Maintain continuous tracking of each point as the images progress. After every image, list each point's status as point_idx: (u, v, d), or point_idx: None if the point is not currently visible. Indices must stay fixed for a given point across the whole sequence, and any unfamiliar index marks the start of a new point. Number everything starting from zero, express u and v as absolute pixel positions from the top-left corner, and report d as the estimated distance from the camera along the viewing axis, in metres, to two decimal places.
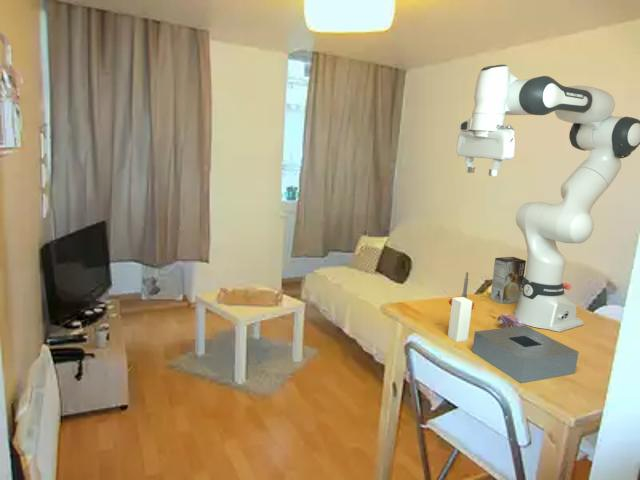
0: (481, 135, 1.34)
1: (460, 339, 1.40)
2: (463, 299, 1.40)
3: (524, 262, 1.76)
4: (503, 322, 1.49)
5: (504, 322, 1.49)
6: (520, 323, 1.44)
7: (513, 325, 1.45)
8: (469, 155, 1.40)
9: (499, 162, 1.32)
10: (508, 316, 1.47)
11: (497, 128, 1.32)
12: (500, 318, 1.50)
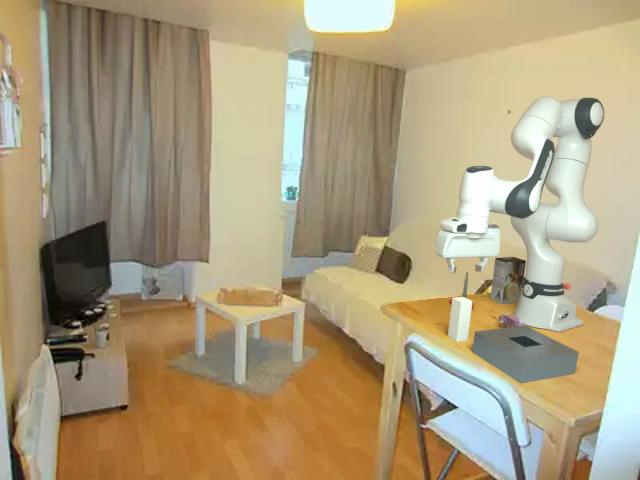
0: (481, 236, 1.34)
1: (460, 339, 1.40)
2: (463, 299, 1.40)
3: (524, 262, 1.76)
4: (504, 322, 1.49)
5: (505, 322, 1.49)
6: (521, 323, 1.44)
7: (514, 325, 1.45)
8: (460, 256, 1.34)
9: None
10: (509, 316, 1.47)
11: None
12: (501, 318, 1.50)
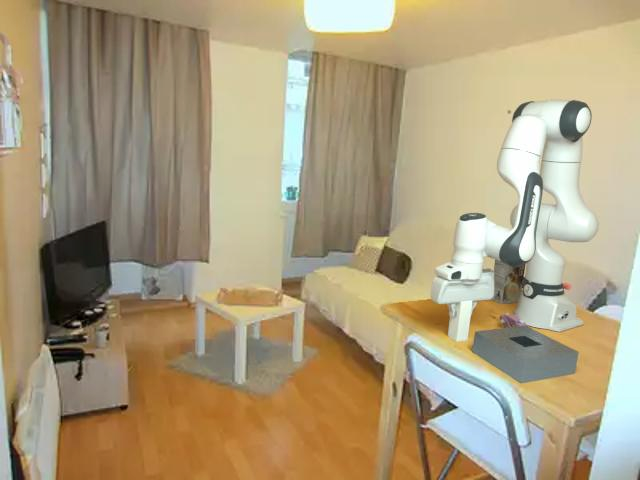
0: (475, 282, 1.36)
1: (460, 339, 1.40)
2: None
3: None
4: (505, 322, 1.50)
5: (506, 322, 1.49)
6: (522, 323, 1.44)
7: (515, 325, 1.46)
8: (455, 301, 1.37)
9: None
10: (510, 316, 1.48)
11: None
12: (502, 318, 1.50)
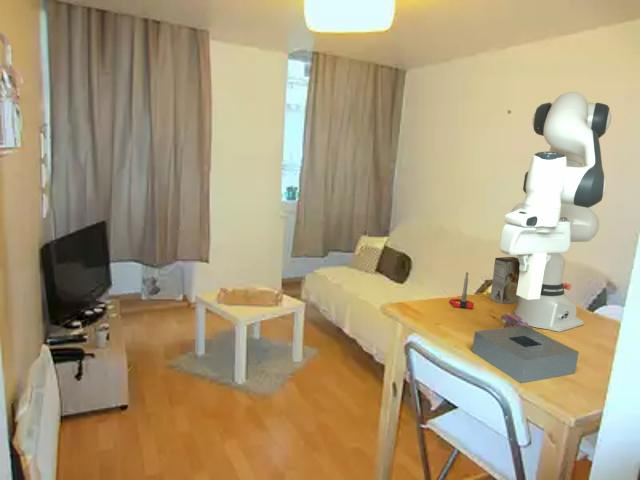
0: (551, 231, 1.20)
1: (532, 297, 1.23)
2: None
3: None
4: (506, 321, 1.50)
5: (507, 321, 1.50)
6: (523, 322, 1.45)
7: (517, 324, 1.46)
8: (528, 253, 1.20)
9: None
10: (511, 315, 1.48)
11: None
12: (503, 317, 1.50)
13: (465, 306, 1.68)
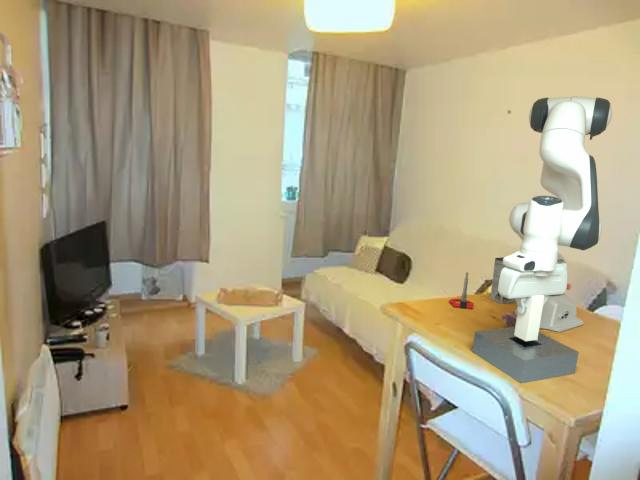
0: (548, 274, 1.21)
1: (530, 338, 1.25)
2: None
3: None
4: (507, 321, 1.50)
5: (508, 321, 1.50)
6: None
7: None
8: (526, 296, 1.21)
9: None
10: (512, 315, 1.48)
11: None
12: (504, 317, 1.51)
13: (465, 306, 1.68)
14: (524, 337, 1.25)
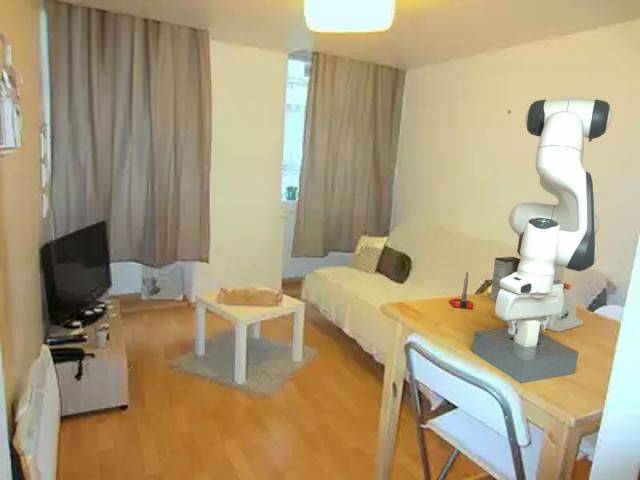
0: (545, 295, 1.23)
1: None
2: (529, 319, 1.27)
3: None
4: None
5: None
6: None
7: None
8: (522, 317, 1.23)
9: None
10: None
11: None
12: None
13: (465, 306, 1.68)
14: None
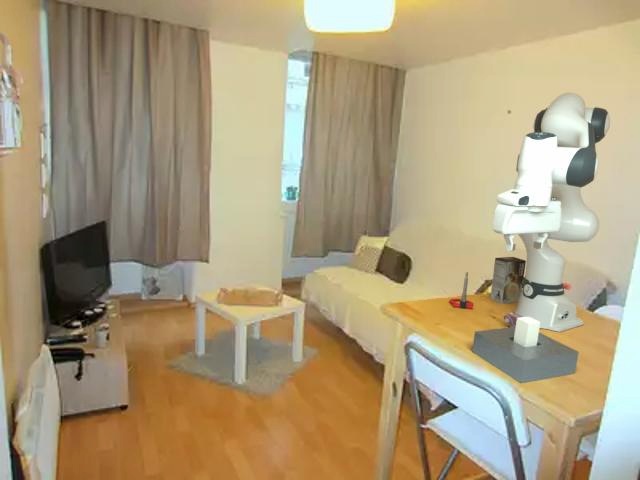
0: (542, 210, 1.22)
1: None
2: (529, 319, 1.27)
3: (524, 262, 1.76)
4: (509, 321, 1.51)
5: (510, 321, 1.50)
6: None
7: None
8: (520, 232, 1.22)
9: None
10: (514, 315, 1.48)
11: None
12: (506, 317, 1.51)
13: (465, 306, 1.68)
14: None
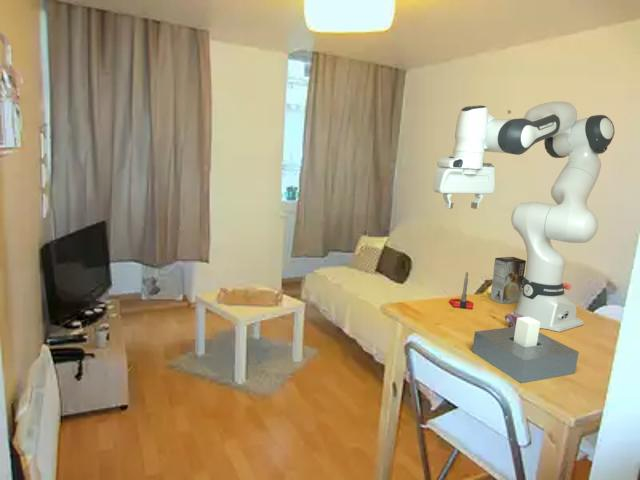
0: (476, 173, 1.41)
1: None
2: (529, 319, 1.27)
3: (524, 262, 1.76)
4: (510, 321, 1.51)
5: (511, 321, 1.50)
6: None
7: None
8: (457, 192, 1.41)
9: None
10: (515, 315, 1.49)
11: None
12: (507, 317, 1.51)
13: (465, 306, 1.68)
14: None
